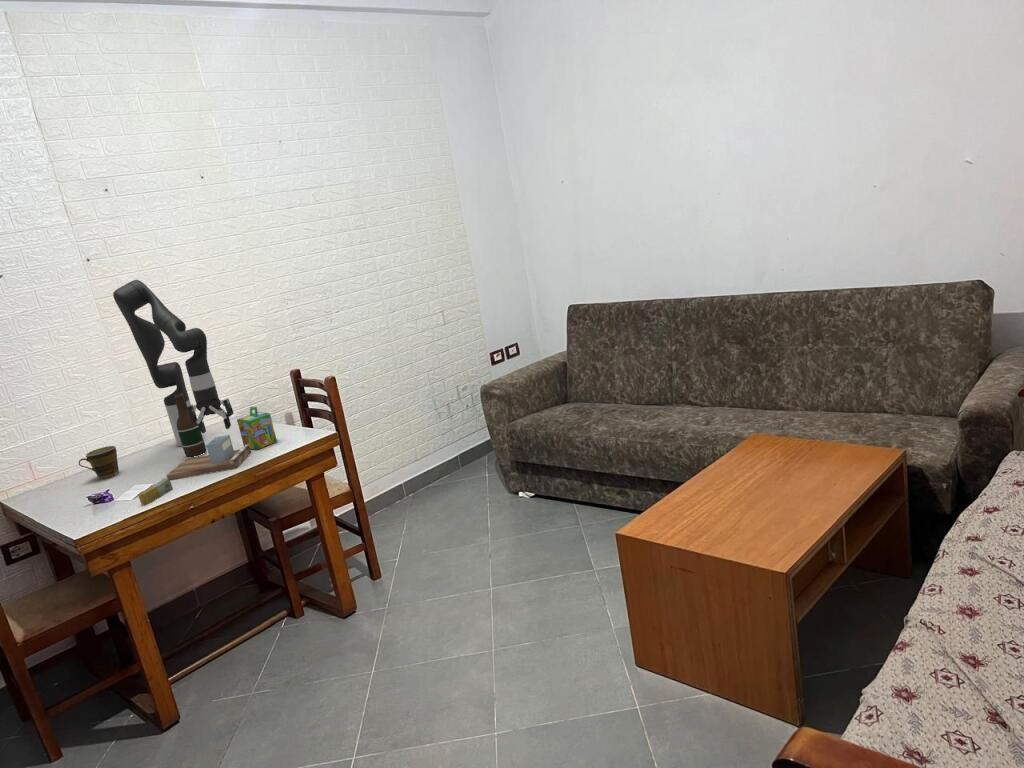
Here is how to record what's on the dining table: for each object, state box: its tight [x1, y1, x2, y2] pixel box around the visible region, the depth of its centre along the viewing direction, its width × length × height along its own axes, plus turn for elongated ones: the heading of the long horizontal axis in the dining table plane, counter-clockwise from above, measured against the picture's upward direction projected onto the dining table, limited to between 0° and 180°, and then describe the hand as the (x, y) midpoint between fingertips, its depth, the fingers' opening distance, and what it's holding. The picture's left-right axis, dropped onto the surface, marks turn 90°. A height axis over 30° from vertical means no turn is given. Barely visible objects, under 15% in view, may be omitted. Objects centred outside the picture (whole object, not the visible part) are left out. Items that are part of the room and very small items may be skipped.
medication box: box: [137, 478, 174, 506], centre depth 236 cm, size 12×3×4 cm, turn 165°
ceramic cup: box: [78, 445, 120, 480], centre depth 268 cm, size 13×10×10 cm
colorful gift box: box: [236, 406, 278, 451], centre depth 272 cm, size 9×9×15 cm
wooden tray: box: [166, 445, 252, 481], centre depth 258 cm, size 16×24×3 cm, turn 91°
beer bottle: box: [174, 393, 207, 458], centre depth 275 cm, size 8×8×24 cm
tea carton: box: [205, 434, 234, 464], centre depth 257 cm, size 5×9×7 cm, turn 1°
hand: (216, 430), depth 256 cm, fingers open, 8 cm apart
